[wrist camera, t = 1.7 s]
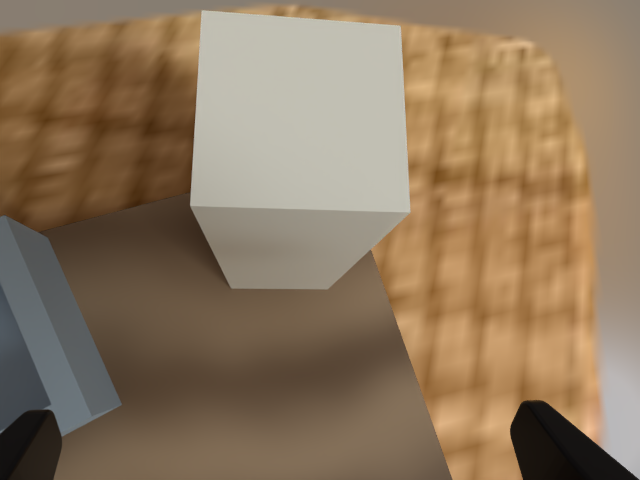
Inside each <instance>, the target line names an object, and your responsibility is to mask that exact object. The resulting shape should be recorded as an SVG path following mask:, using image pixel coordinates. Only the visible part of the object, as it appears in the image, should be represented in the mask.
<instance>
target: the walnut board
mask: <svg viewBox="0 0 640 480" xmlns="http://www.w3.org/2000/svg"><path fill="white" fill-rule="evenodd" d="M190 198H191V192H189V193H185V194H182V195H178V196H174V197H170V198H166V199H163V200H159V201H155V202H151V203H147V204H144V205H140V206H136V207H132V208H128V209H125V210H121V211H117V212H113V213H109V214H106V215H102V216H98V217H94V218H90V219H87V220H83V221H79V222H75V223H71V224H68V225H64V226H60V227H56V228H52V229H49V230H45V231H41V232H38V233H40V234H42V235H44V236H45V237H47V238H48V239H49V241H50V244H51V246H52V248H53V250H54V253H55V255H56V257H57V259H58V262H59V264H60V266H61V268H62V271H63V273H64V275H65V277H66V280H67V282H68V284H69V286H70V289H71V291H72V293H73V295H74V298H75V300H76V302H77V304H78V307H79V309H80V311H81V313H82V316H83V318H84V320H85V322H86V325H87V327H88V329H89V331H90V334H91V336H92V338H93V340H94V343H95V345H96V347H97V349H98V352H99V354H100V356H101V358H102V361H103V363H104V365H105V367H106V370H107V372H108V374H109V376H110V379H111V381H112V383H113V385H114V388H115V390H116V392H117V394H118V397H119V399H120V401H121V403H122V405H121V406H119V407H117V408H115V409H113V410H111V411H109V412H107V413H106V414H104V415H102V416H100V417H98V418H96V419H94V420H92V421H90V422H89V423H87V424H85V425H83V426H81V427H79V428H77V429H75V430H74V431H72V432H70V433H68V434H66V435H64V436H62V449H61V453H60V457H59V461H58V465H57V468H56V472H55V476H54V479H53V480H452V477H451V474H450V472H449V469H448V466H447V463H446V460H445V457H444V455H443V452H442V449H441V446H440V443H439V441H438V438H437V435H436V432H435V429H434V426H433V424H432V421H431V418H430V415H429V412H428V410H427V407H426V404H425V401H424V398H423V395H422V393H421V390H420V387H419V384H418V381H417V378H416V376H415V373H414V370H413V367H412V364H411V362H410V359H409V356H408V353H407V350H406V347H405V345H404V342H403V339H402V336H401V333H400V330H399V328H398V325H397V322H396V319H395V316H394V314H393V311H392V308H391V305H390V302H389V299H388V297H387V294H386V291H385V288H384V285H383V282H382V280H381V277H380V274H379V271H378V268H377V266H376V263H375V260H374V257H373V254H372V251H371V250H370V251H368V252H367V253H366V254H365V255H364V256H363V257H362V258H361V259H360V260H359V261H358V262H357V263H356V264H354V265H353V266H352V267H351V268H350V269H349V270H348V271H347V272H346V273H345V274H344V275H343V276H342V277H341V278H339V279H338V280H337V281H336V282H335V283H334V284H333V285H332V286H331V287H330V288H329V289H231V287H230V285H229V283H228V281H227V279H226V277H225V275H224V273H223V271H222V269H221V267H220V265H219V263H218V261H217V259H216V257H215V255H214V253H213V251H212V249H211V247H210V245H209V243H208V241H207V239H206V237H205V235H204V233H203V231H202V229H201V227H200V225H199V223H198V221H197V219H196V217H195V215H194V213H193V211H192V209H191V207H190Z"/></svg>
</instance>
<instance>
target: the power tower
mask: <svg viewBox="0 0 640 480" xmlns="http://www.w3.org/2000/svg"><path fill="white" fill-rule="evenodd" d="M190 207H191V209H192V211H193V213H194V215H195V217H196V219H197V221H198V223H199V225H200V227H201V229H202V231H203V233H204V235H205V237H206V239H207V241H208V243H209V245H210V247H211V249H212V251H213V253H214V255H215V257H216V259H217V261H218V263H219V265H220V267H221V269H222V271H223V273H224V275H225V277H226V279H227V281H228V283H229V285H230V287H231V289H329V288H330V287H331V286H332V285H333V284H334V283H335V282H336V281H337V280H338V279H339V278H341V277H342V276H343V275H344V274H345V273H346V272H347V271H348V270H349V269H350V268H351V267H352V266H353V265H354V264H356V263H357V262H358V261H359V260H360V259H361V258H362V257H363V256H364V255H365V254H366V253H367V252H368V251H370V250H371V249H372V248H373V247H374V246H375V245H376V244H377V243H378V242H379V241H380V240H381V239H382V238H384V237H385V236H386V235H387V234H388V233H389V232H390V231H391V230H392V229H393V228H394V227H395V226H396V225H398V224H399V223H400V222H401V221H402V220H403V219H404V218H405V217H406V216H407V215H408V214H409V213H410V196H409V177H408V158H407V138H406V119H405V100H404V80H403V61H402V42H401V26H396V25H383V24H370V23H358V22H345V21H332V20H319V19H306V18H293V17H280V16H268V15H255V14H242V13H229V12H216V11H203V10H202V16H201V33H200V49H199V66H198V82H197V99H196V115H195V132H194V149H193V165H192V182H191V198H190Z"/></svg>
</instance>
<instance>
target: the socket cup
mask: <svg viewBox="0 0 640 480" xmlns="http://www.w3.org/2000/svg"><path fill="white" fill-rule="evenodd" d="M121 405H122V403H121V401H120V399H119V397H118V394H117V392H116V390H115V388H114V385H113V383H112V381H111V379H110V376H109V374H108V372H107V370H106V367H105V365H104V363H103V361H102V358H101V356H100V354H99V352H98V349H97V347H96V345H95V343H94V340H93V338H92V336H91V334H90V331H89V329H88V327H87V325H86V322H85V320H84V318H83V316H82V313H81V311H80V309H79V307H78V304H77V302H76V300H75V298H74V295H73V293H72V291H71V289H70V286H69V284H68V282H67V280H66V277H65V275H64V273H63V271H62V268H61V266H60V264H59V262H58V259H57V257H56V255H55V253H54V250H53V248H52V246H51V244H50V241H49V239H48V238H47V237H45V236H44V235H42V234H40V233H38V232H36V231H34V230H32V229H30V228H28V227H26V226H25V225H23V224H21V223H19V222H17V221H15V220H13V219H11V218H9V217H7V216H6V215H4V216H1V217H0V433H1V432H2V431H4V430H5V429H6V428H7V427H8V426H9V425H10V424H11V423H12V422H14V421H15V420H16V419H17V418H18V417H19V416H20V415H21V414H23V413H24V412H26V411H28V410H38V409H49V410H51V411H53V412H54V414H55V417H56V420H57V423H58V426H59V430H60V433H61V436H64V435H66V434H68V433H70V432H72V431H74V430H75V429H77V428H79V427H81V426H83V425H85V424H87V423H89V422H90V421H92V420H94V419H96V418H98V417H100V416H102V415H104V414H106V413H107V412H109V411H111V410H113V409H115V408H117V407H119V406H121Z"/></svg>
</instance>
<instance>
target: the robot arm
mask: <svg viewBox="0 0 640 480" xmlns="http://www.w3.org/2000/svg"><path fill="white" fill-rule="evenodd" d="M510 435H511V440H512V443H513V447H514V450H515V453H516V457H517V460H518V464H519V467H520V471H521V474H522V477H523V480H639V479H638V478H637V477H635V476H634V475H633V474H632V473H631V472H630V471H628V470H627V469H626V468H625V467H623V466H622V465H621V464H620V463H619V462H617V461H616V460H615V459H614V458H613V457H611V456H610V455H609V454H608V453H607V452H605V451H604V450H603V449H602V448H601V447H599V446H598V445H597V444H596V443H595V442H593V441H592V440H591V439H590V438H589V437H587V436H586V435H585V434H584V433H583V432H581V431H580V430H579V429H578V428H577V427H575V426H574V425H573V424H572V423H571V422H569V421H568V420H567V419H566V418H565V417H563V416H562V415H561V414H560V413H558V412H557V411H556V410H555V409H554V408H552V407H551V406H550V405H549V404H548V403H546V402H544V401H541V400H527V401H523V402H522V403H521V404H520V406H519V409H518V411H517V413H516V415H515V417H514V420H513V422H512V424H511V428H510ZM61 449H62V436H61V433H60V430H59V426H58V423H57V420H56V417H55V414H54V412H53V411H51V410H49V409H38V410H28V411H26V412H24V413H23V414H21V415H20V416H19V417H18V418H17V419H16V420H15V421H14V422H12V423H11V424H10V425H9V426H8V427H7V428H6V429H5V430H4V431H2V432H1V433H0V480H53V479H54V476H55V472H56V468H57V465H58V461H59V457H60V453H61Z"/></svg>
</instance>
